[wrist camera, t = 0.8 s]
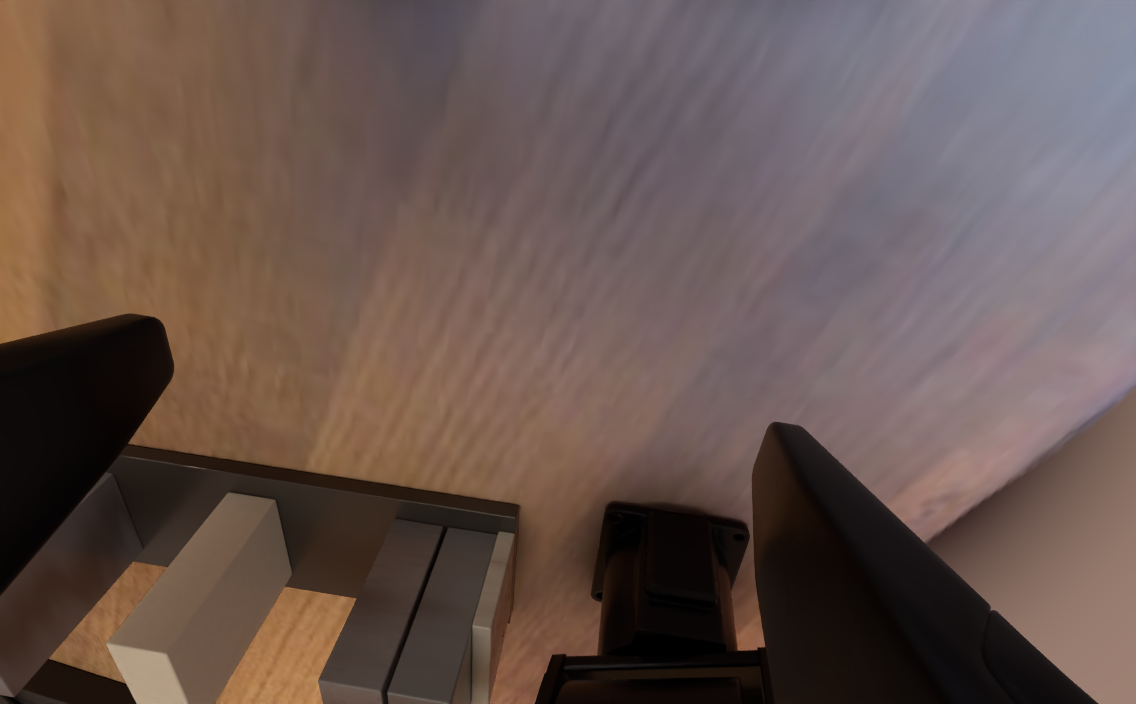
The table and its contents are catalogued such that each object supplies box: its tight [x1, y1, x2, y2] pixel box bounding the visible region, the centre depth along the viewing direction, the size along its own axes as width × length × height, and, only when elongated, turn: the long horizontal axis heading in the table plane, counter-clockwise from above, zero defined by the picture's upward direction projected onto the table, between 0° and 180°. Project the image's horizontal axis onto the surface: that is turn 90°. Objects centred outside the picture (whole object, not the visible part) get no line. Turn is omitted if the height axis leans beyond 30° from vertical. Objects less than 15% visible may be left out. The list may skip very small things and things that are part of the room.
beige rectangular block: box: [106, 492, 292, 704], centre depth 28 cm, size 6×2×8 cm, turn 175°
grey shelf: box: [0, 445, 519, 704], centre depth 29 cm, size 8×26×9 cm, turn 85°
